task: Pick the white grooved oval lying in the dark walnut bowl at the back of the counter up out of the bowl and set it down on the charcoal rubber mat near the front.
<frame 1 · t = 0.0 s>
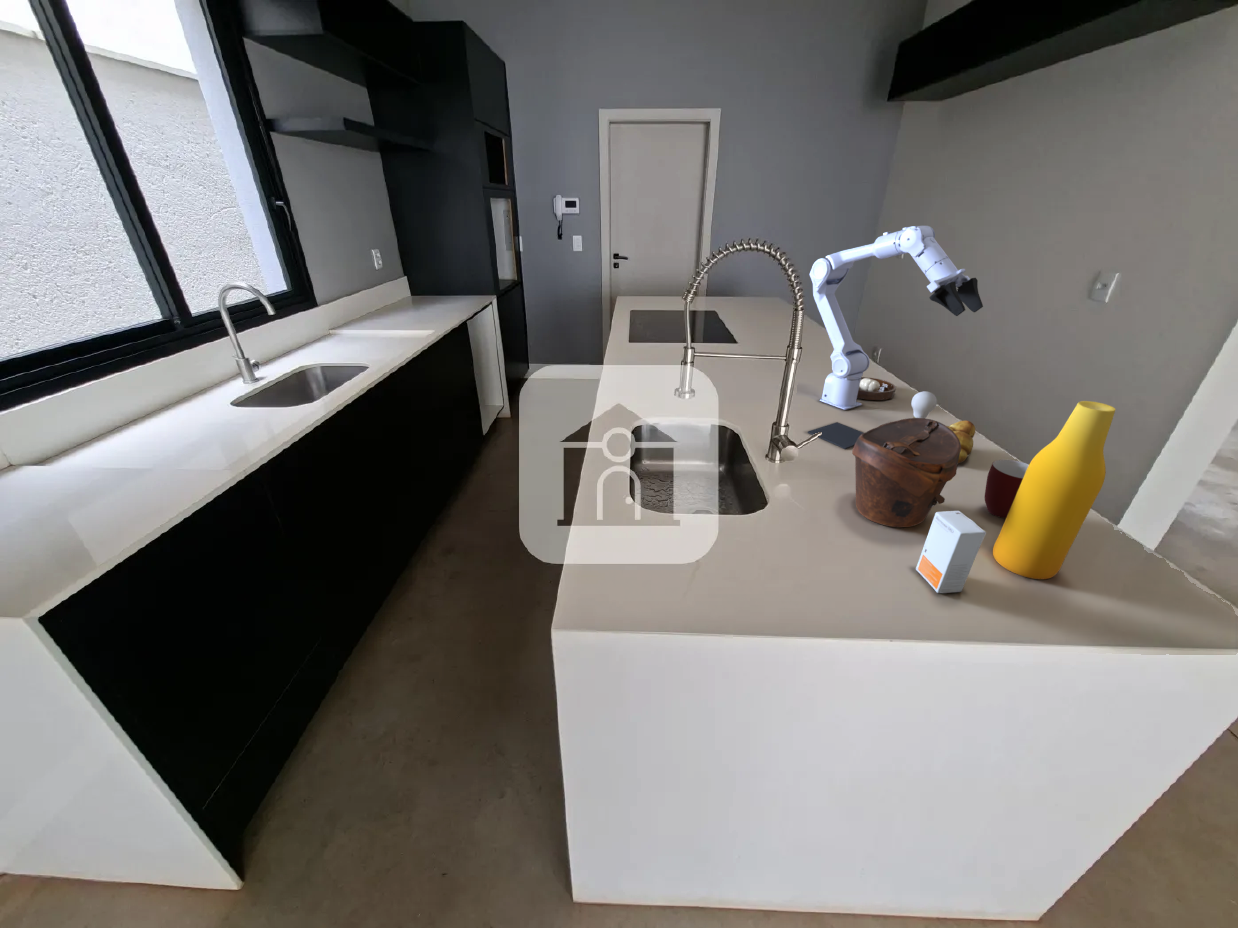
hand: (969, 311, 117), 32 cm above the countertop, tool tilted 50°, fingers open, 7 cm apart
light bulb: (916, 426, 138), on the countertop
bread roll: (945, 455, 122), on the countertop
mat: (840, 435, 133), on the countertop
case: (887, 512, 100), on the countertop
cosmetic box: (937, 581, 82), on the countertop
mug: (1006, 515, 99), on the countertop
bowl: (867, 393, 161), on the countertop
beer bottle: (1022, 563, 86), on the countertop
white grooved oval: (869, 385, 160), in the bowl
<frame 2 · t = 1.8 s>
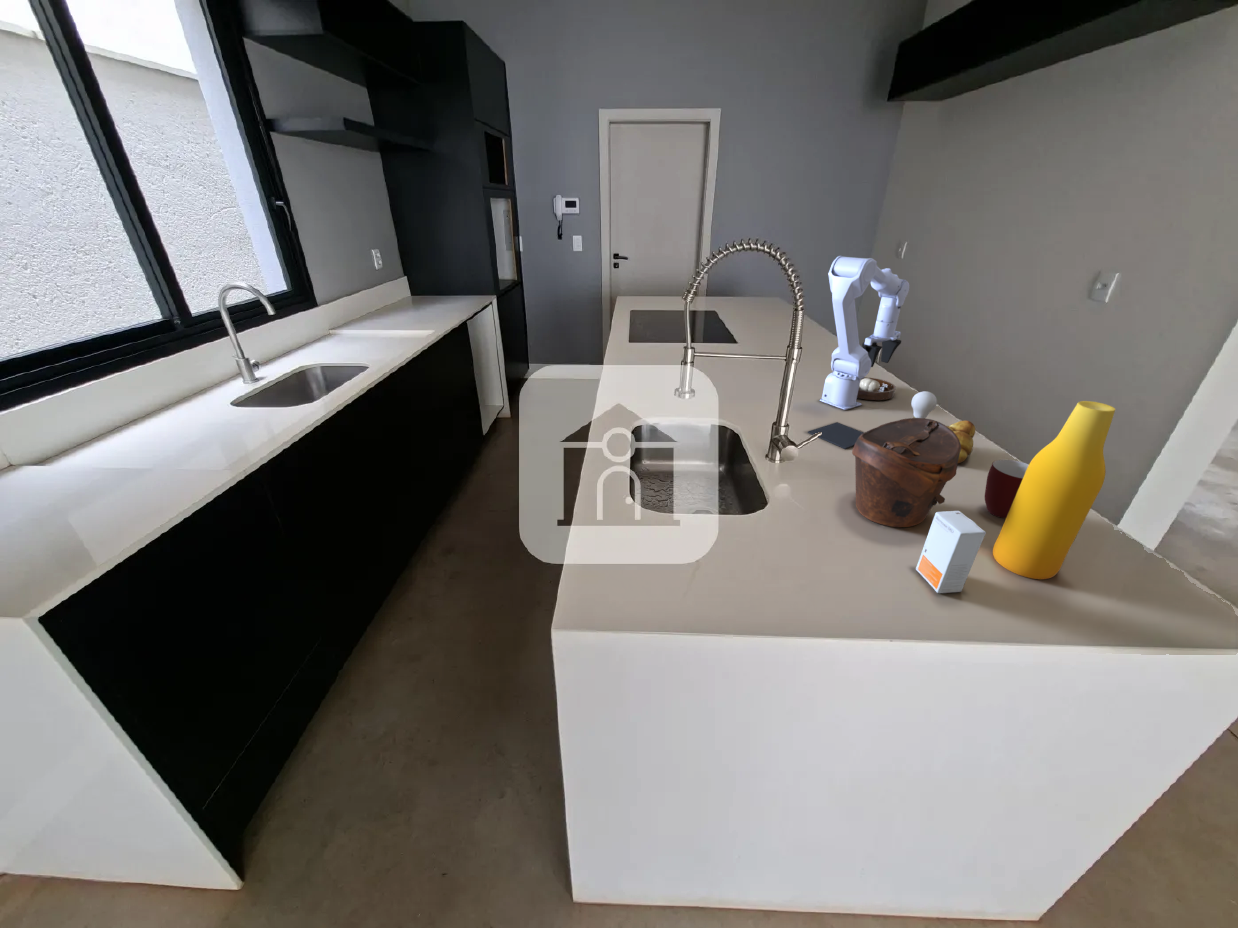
hand: (877, 364, 156), 10 cm above the countertop, tool pointing down, fingers open, 7 cm apart
nothing on the countertop moved.
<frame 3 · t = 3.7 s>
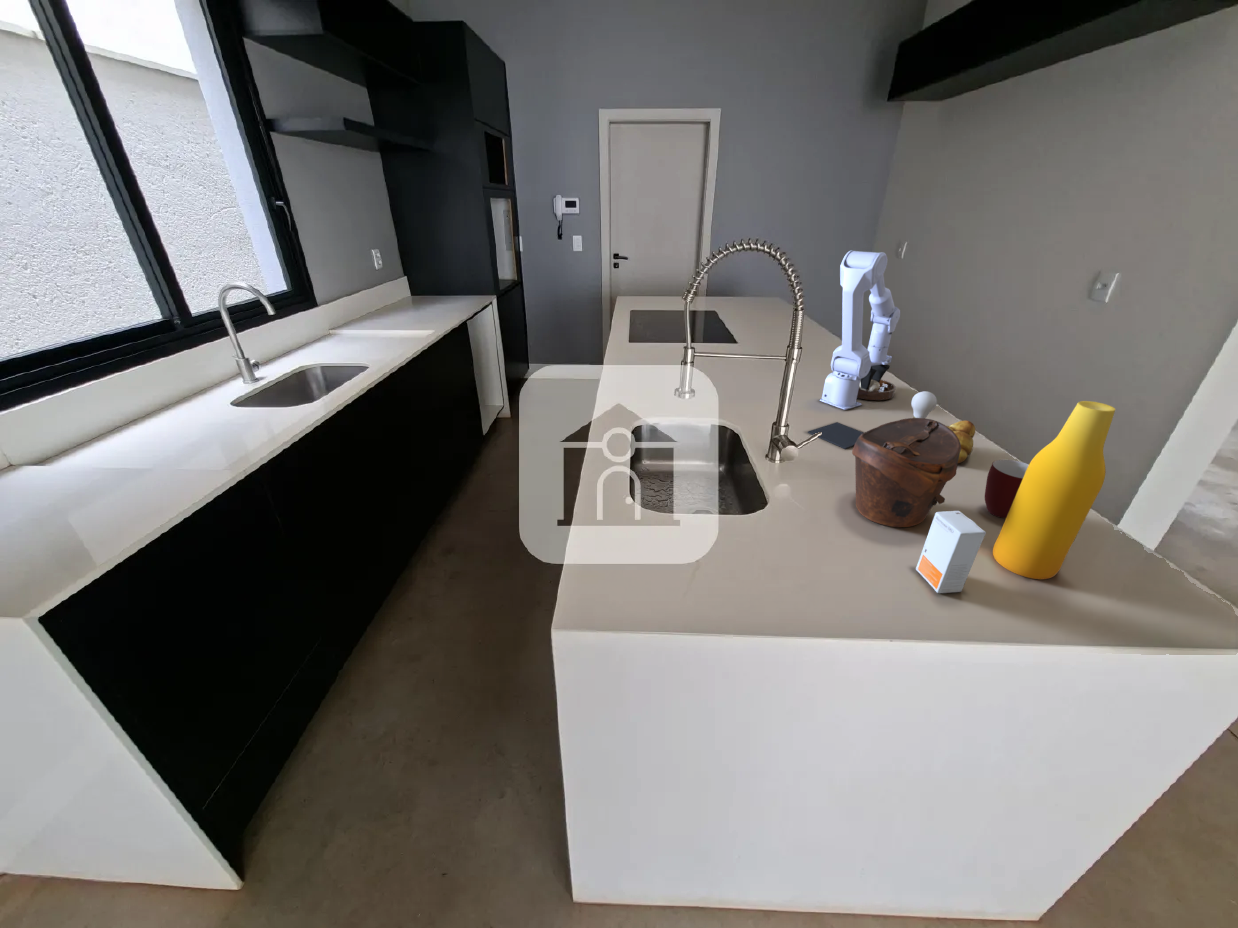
hand: (868, 387, 160), 2 cm above the countertop, tool pointing down, fingers closed on white grooved oval, 4 cm apart
white grooved oval: (869, 385, 160), in the bowl, touching gripper
everything else where it was.
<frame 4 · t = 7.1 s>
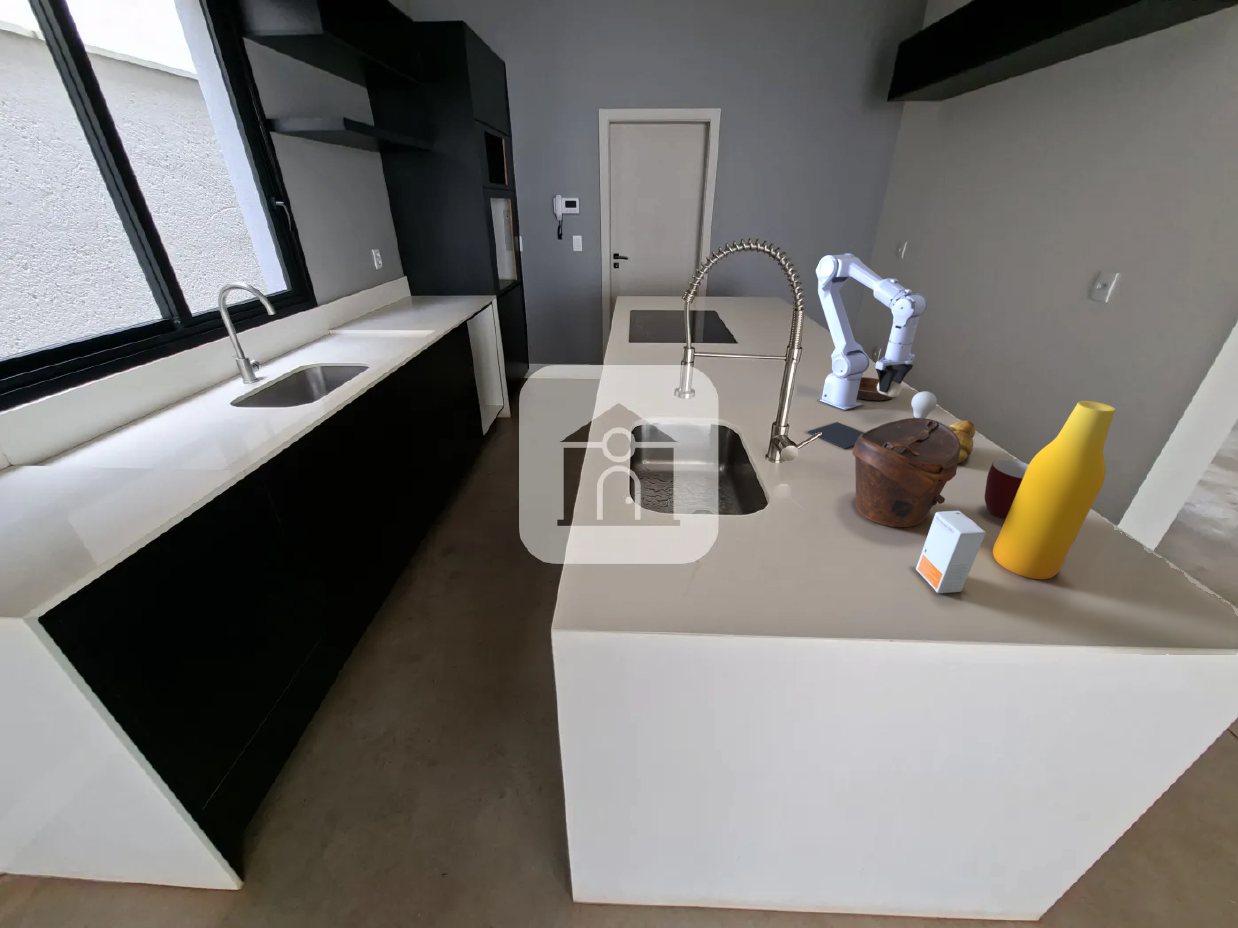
hand: (888, 390, 139), 8 cm above the countertop, tool pointing down, fingers closed on white grooved oval, 4 cm apart
white grooved oval: (889, 388, 139), point 9 cm above the countertop, touching gripper
everything else where it was.
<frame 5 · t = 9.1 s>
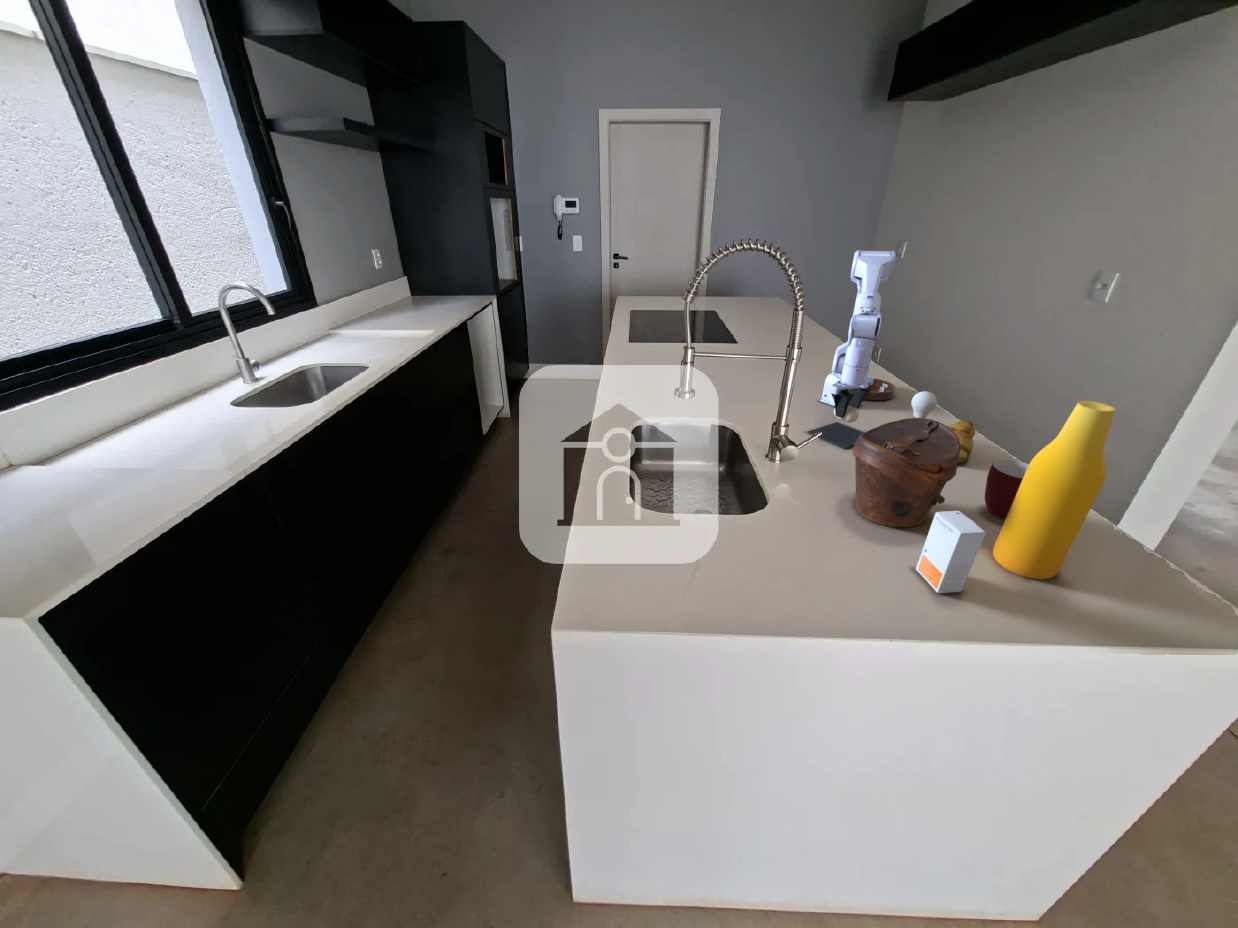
hand: (845, 415, 130), 6 cm above the countertop, tool pointing down, fingers closed on white grooved oval, 4 cm apart
white grooved oval: (846, 412, 129), point 7 cm above the countertop, touching gripper
everything else where it was.
when the fingers open (2 cm above the countertop, at t = 10.6 s): white grooved oval stays where it is, resting on mat.
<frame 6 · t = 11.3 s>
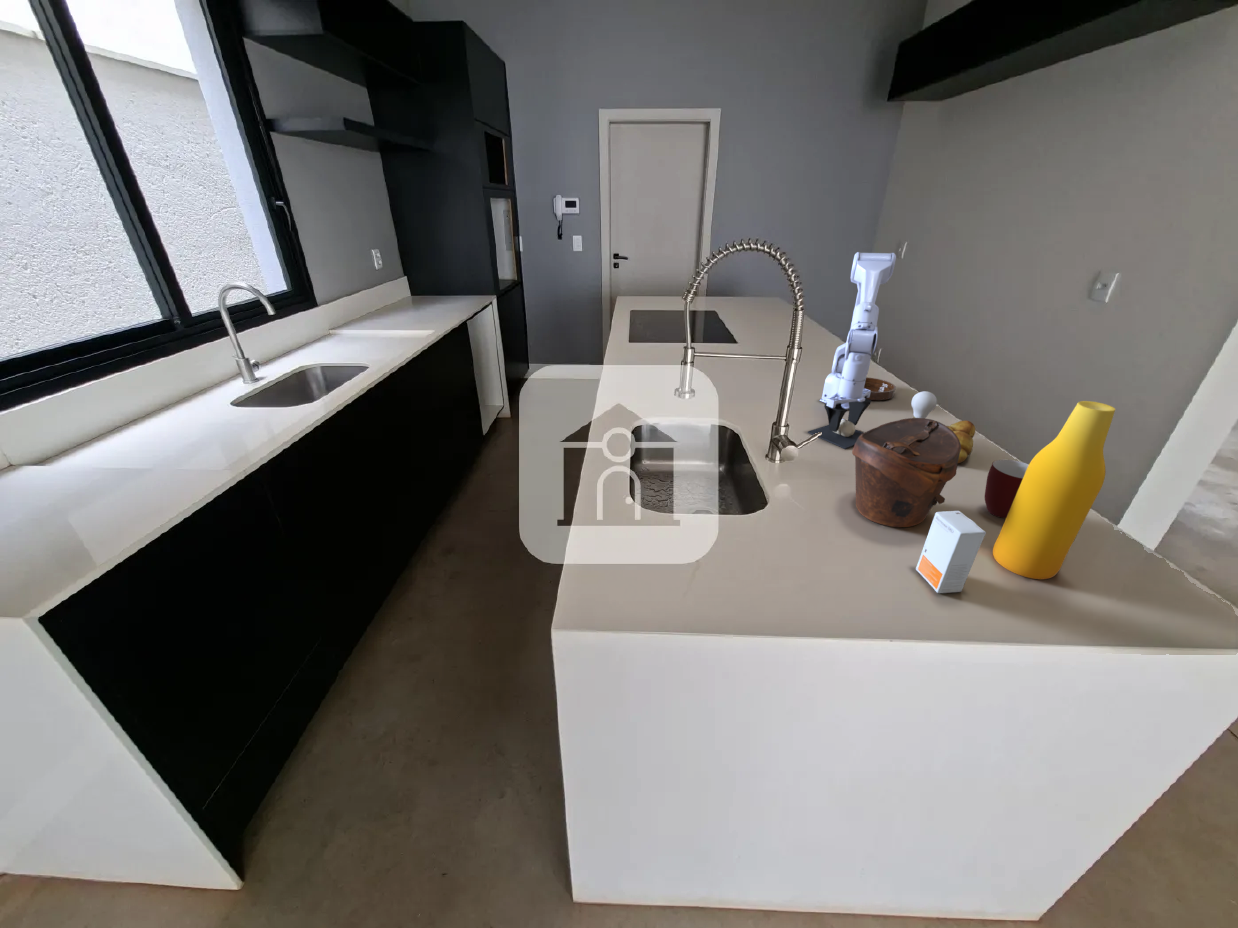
hand: (842, 427, 131), 2 cm above the countertop, tool pointing down, fingers open, 7 cm apart
white grooved oval: (842, 427, 131), on the mat
everything else where it was.
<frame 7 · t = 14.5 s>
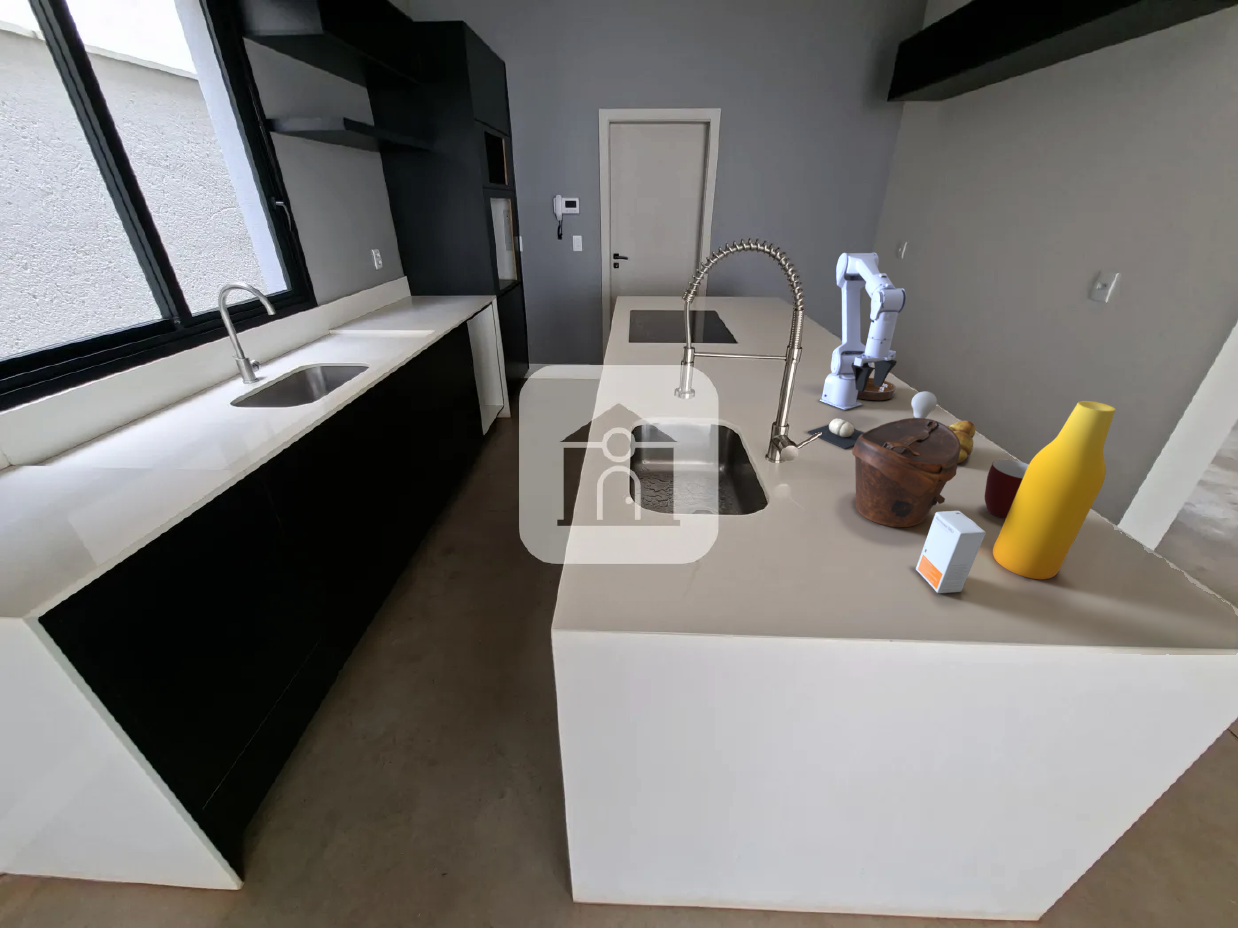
hand: (868, 387, 135), 10 cm above the countertop, tool pointing down, fingers open, 7 cm apart
white grooved oval: (841, 427, 131), resting on mat, tilted 22°
everything else where it was.
at the end: white grooved oval inside the target area on the mat (0.2 cm from its centre), point 2.5 cm above the mat's base; white grooved oval touching mat; the gripper is holding nothing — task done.
